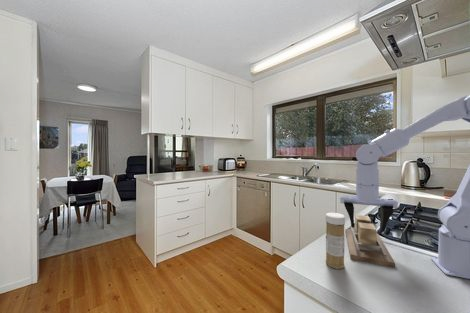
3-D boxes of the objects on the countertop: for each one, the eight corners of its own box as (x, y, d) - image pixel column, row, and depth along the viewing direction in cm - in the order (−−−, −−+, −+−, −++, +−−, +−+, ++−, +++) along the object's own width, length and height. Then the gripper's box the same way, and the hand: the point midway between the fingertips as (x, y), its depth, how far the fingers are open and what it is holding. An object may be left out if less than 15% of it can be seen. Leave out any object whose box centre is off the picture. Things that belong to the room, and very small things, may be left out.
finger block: (372, 242, 63) (372, 223, 63) (376, 250, 58) (376, 229, 58) (357, 239, 65) (358, 221, 65) (360, 247, 60) (360, 227, 60)
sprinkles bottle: (330, 258, 56) (330, 210, 56) (347, 265, 53) (348, 214, 52) (322, 264, 53) (322, 214, 53) (340, 272, 50) (340, 218, 50)
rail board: (377, 236, 70) (378, 216, 69) (394, 267, 52) (395, 239, 51) (345, 232, 74) (345, 212, 74) (350, 258, 56) (350, 233, 56)
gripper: (392, 183, 61) (392, 227, 62) (339, 181, 68) (339, 220, 68) (400, 187, 55) (399, 236, 55) (340, 184, 61) (340, 228, 62)
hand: (367, 228), depth 61 cm, fingers open, 7 cm apart
